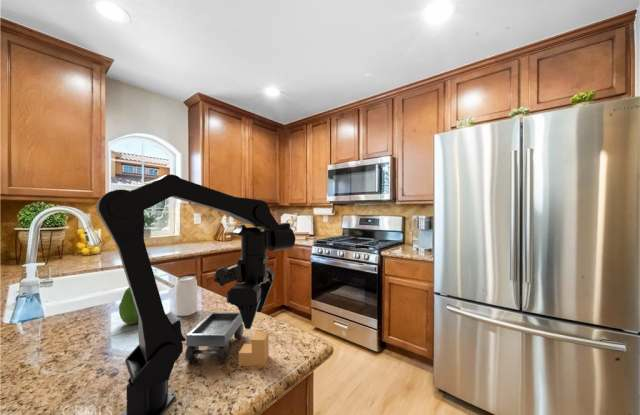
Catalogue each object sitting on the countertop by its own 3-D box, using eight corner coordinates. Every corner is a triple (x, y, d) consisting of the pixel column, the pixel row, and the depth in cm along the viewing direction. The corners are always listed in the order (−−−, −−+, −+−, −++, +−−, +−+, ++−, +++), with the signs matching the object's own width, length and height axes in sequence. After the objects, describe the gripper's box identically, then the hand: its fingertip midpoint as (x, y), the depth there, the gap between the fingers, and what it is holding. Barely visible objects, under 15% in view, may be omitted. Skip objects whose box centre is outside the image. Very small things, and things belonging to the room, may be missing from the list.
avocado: (114, 330, 76) (113, 289, 76) (126, 319, 84) (126, 282, 84) (145, 327, 78) (144, 287, 78) (154, 316, 86) (153, 280, 86)
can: (188, 317, 85) (188, 281, 85) (171, 316, 86) (171, 280, 86) (201, 310, 91) (201, 276, 91) (185, 308, 93) (185, 275, 93)
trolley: (223, 365, 59) (223, 336, 59) (184, 365, 59) (184, 336, 59) (243, 334, 73) (243, 311, 73) (212, 334, 74) (212, 311, 74)
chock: (268, 356, 63) (268, 331, 63) (264, 366, 59) (264, 339, 59) (244, 355, 63) (244, 331, 63) (238, 365, 59) (238, 339, 59)
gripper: (234, 247, 71) (234, 304, 71) (201, 261, 52) (201, 339, 52) (274, 247, 70) (274, 304, 70) (256, 261, 52) (256, 340, 52)
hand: (253, 319), depth 61 cm, fingers open, 9 cm apart
